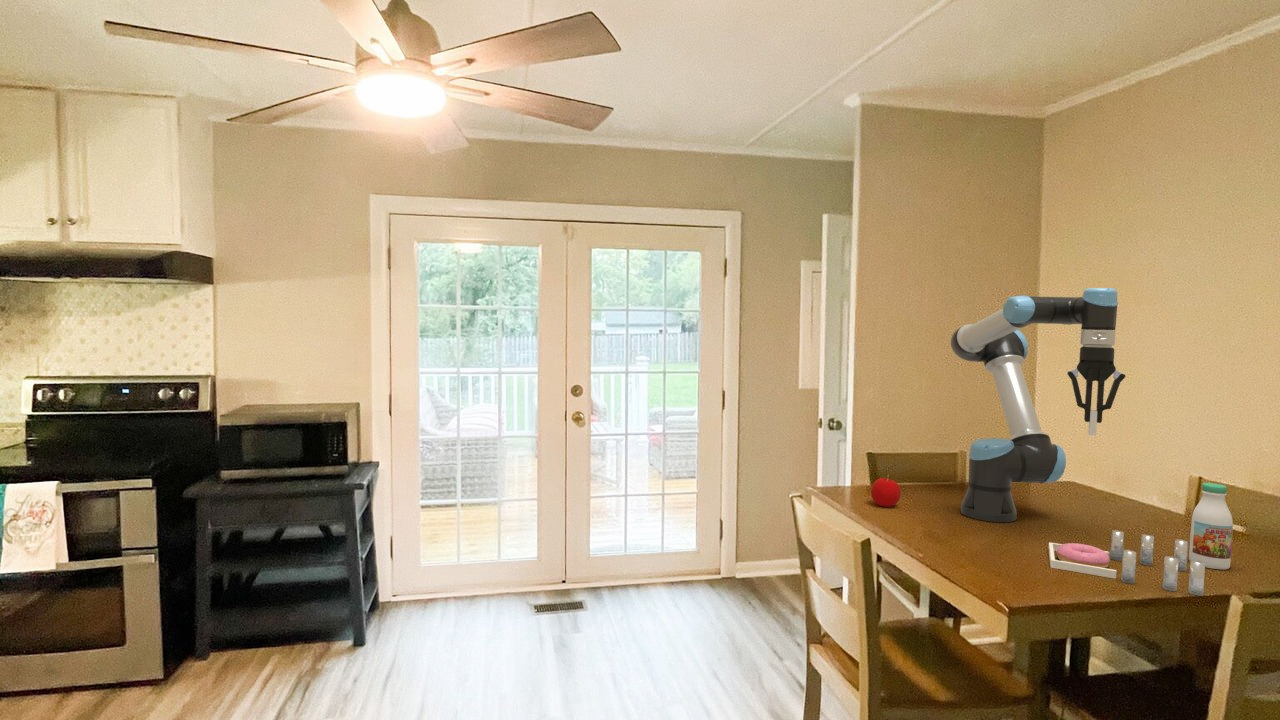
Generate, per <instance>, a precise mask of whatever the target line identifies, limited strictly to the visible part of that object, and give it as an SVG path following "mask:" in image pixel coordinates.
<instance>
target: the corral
mask: <svg viewBox="0 0 1280 720" xmlns="http://www.w3.org/2000/svg"><path fill="white" fill-rule="evenodd" d="M1063 544H1064V543H1063ZM1063 544H1062V543H1055V542H1048V556H1049V564H1050V568H1052V569H1058V570H1064V571H1070V572H1075V573H1080V574H1081V573H1082V574H1086V575H1091V576H1092V575H1093V576H1099V577H1104V578H1108V579H1117V569H1112V568H1108V567H1107V568H1101V567H1095V566H1089V565H1083V564H1077V563H1071V562H1065V561H1061V560H1060V559H1059V560H1058V559H1056V557H1055V552H1056V551H1057V549H1058V547H1059V546H1060V545H1063ZM1103 551H1104V552H1106V553H1107V554H1108V556H1109V557H1110V551H1106V550H1103Z"/></svg>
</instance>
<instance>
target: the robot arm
mask: <svg viewBox="0 0 1280 720" xmlns="http://www.w3.org/2000/svg"><path fill="white" fill-rule="evenodd" d="M1082 293H1083V294H1082V296H1075V297H1074V296H1072V297H1071V296H1033V295H1032V296H1031V295H1030V296H1028V295H1016V296H1010V297H1008V298H1007V299H1006V300H1005V302H1004V304H1003V306H1002V308H1001V309H999V310H997V311H996V312H994V313H992V314H990V315H988V316H987V317H985V318H983V319H980V320H979V321H977V322H975V323H968V324H965V325H962V326H961V327H958V328H957V329H956V330H955V331H954V332H953V333H952V335H951V338H950V347H951V349H952V351H953V353H954V354H955V356H957V357H959V358H960V359H961V360H964V361H967V362H971V363H974V362H979V363H983V365H984V367H985V370H986V371H987V372H988V373H991V375H992V377H993V381H994V384H995V387H996V391H997V395H998V398H999V400H1000V404H1001V408H1002V411H1003V415H1004V417H1005V421H1006V424H1007V427H1008V431H1009V434H1010V439H1008V438H1000V437H998V438H995V437H994V438H993V437H991V438H981V439H977V440H976V439H975V440H974V441H973V442H972V443H971V444H970V447H969V454H968V458H969V459H968V462H969V463H968V478H967V481H968V482H967V483H968V485H967V490H966V492H965V494H964V496H963V498H962V499H963V500H962V501H961V504H960V514H962V515H964V516H966V517H968V518H972V519H974V520H979V521H984V522H991V523H992V522H993V523H1011V522H1015V521H1016V520H1017V515H1018V514H1017V513H1018V512H1017V508H1016V505H1015V503H1014V498H1013V496H1012V483H1024V484H1025V483H1027V484H1048V483H1049V484H1050V483H1055V482H1058V481H1059V480H1060V479H1061V478H1062V476H1063V475H1064V474H1065V473H1064V472H1065V470H1066V465H1067V458H1066V454H1065V450H1064V449H1063V447H1061V445H1059V444H1056V443H1052V441H1051V437H1050V435H1049V434H1047V433H1045V432H1043V431H1042V428H1041V426H1040V422H1039V419H1038V415H1037V412H1036V409H1035V407H1034V403H1033V401H1032V397H1031V395H1030V394H1031V393H1030V392H1029V387H1028V384H1027V382H1026V379H1025V378H1026V377H1025V375H1024V371H1023V369H1022V366H1023V364H1024V363H1025V359H1026V358H1027V355H1028V353H1029V351H1028V346H1029V345H1028V341H1027V339H1026V336H1025V334H1024V333H1022V331H1020V330H1021V329H1023V328H1025V327H1028V326H1030V325H1032V324H1043V325H1044V324H1048V325H1049V324H1053V325H1068V326H1071V325H1081V328H1080V329H1081V330H1080V345H1082V346H1080V348H1079V362H1078V364H1077V365H1076V368H1074V369H1072V370H1069V371H1067V373H1066V374H1067V376H1068V377H1069V379H1071V385H1072V388H1073V393H1074V397H1075V402H1076V405H1077V407H1078V408H1081V409H1083V410H1084V416H1083V417H1084V418H1083V420H1084V422H1085V423H1088V433H1087V434H1088V435H1089V436H1097V426H1098V423H1099V424H1101V423H1102V421H1103V412H1104V411H1105V410H1110V409H1112V406H1113V404H1114V401H1115V398H1116V396H1117V393H1118V390H1119V387H1120V384H1121V382H1122V381H1124V379H1125V378H1126V374H1124V373H1122V372H1120V371H1119V370H1117V369H1116V368H1117V367H1116V365H1115V348H1114V347H1113V346H1115V344H1116V343H1115V342H1116V325H1117V317H1118V316H1117V313H1118V304H1119V303H1118V291H1117V289H1115V288H1113V287H1091V288H1089V287H1088V288H1086V289H1084V290H1083V292H1082ZM1079 374H1080V375H1081V376H1082V377H1083V379H1084V380H1085V397H1084V398H1085V399H1084V402H1083V399H1082V395H1081V389H1080V386H1079V382H1078V377H1079ZM1112 375H1113V382H1112V384H1111V387H1110V390H1109V393H1108V396H1107V398H1106V400H1105V404H1104V395H1105V393H1104V392H1105V382H1106V381H1107V380H1108V379H1109V378H1110V377H1111V376H1112ZM1095 381H1096V382H1097V391H1096V393H1097V394H1096V409H1092V398H1093V397H1092V395H1093V384H1094V383H1093V382H1095Z"/></svg>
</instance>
